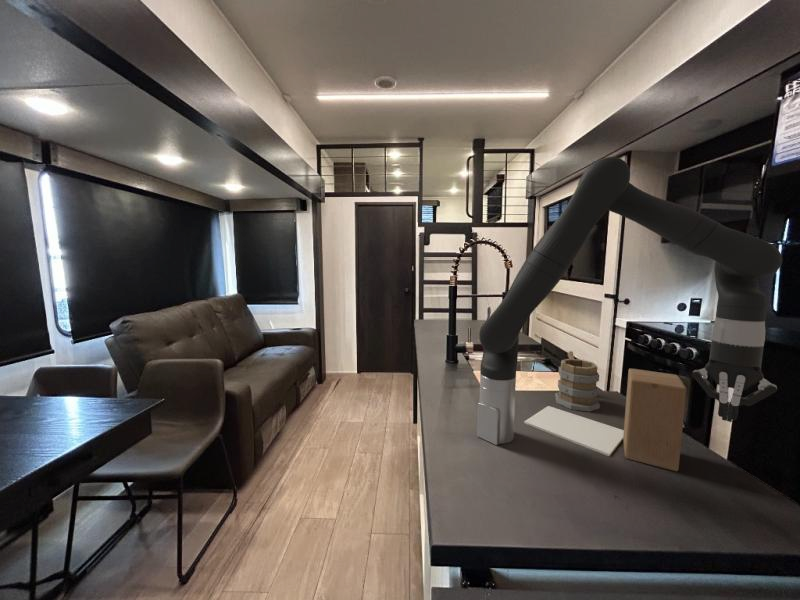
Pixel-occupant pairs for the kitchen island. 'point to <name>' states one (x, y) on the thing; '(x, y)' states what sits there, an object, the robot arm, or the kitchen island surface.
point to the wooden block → (654, 418)
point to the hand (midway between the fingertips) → (727, 419)
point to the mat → (577, 429)
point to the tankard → (578, 384)
